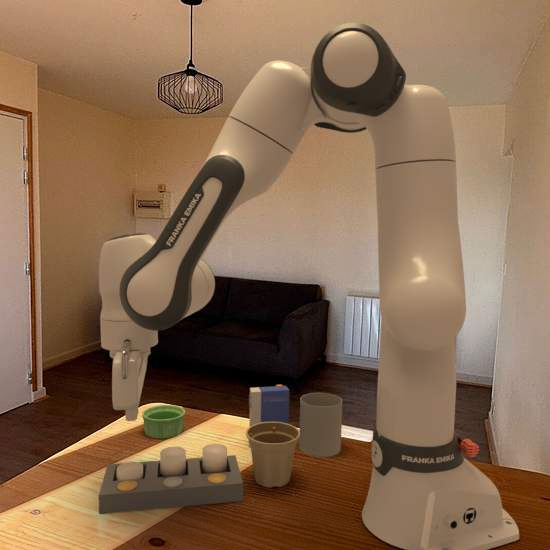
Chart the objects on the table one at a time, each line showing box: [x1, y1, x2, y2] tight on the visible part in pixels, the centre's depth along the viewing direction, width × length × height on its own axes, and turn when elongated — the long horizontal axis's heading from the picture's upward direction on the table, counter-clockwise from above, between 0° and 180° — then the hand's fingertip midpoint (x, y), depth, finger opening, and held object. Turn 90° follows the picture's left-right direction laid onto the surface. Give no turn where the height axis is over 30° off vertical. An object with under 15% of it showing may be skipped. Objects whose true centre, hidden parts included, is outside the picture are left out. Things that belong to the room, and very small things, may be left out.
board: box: [98, 454, 244, 515], centre depth 81 cm, size 22×10×3 cm, turn 102°
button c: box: [117, 461, 143, 481], centre depth 81 cm, size 4×4×3 cm
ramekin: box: [141, 404, 186, 440], centre depth 105 cm, size 9×9×4 cm
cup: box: [298, 392, 343, 458], centre depth 99 cm, size 8×8×10 cm
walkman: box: [248, 384, 290, 449], centre depth 100 cm, size 8×3×12 cm, turn 104°
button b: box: [159, 446, 187, 477], centre depth 83 cm, size 4×4×3 cm
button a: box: [201, 443, 228, 474], centre depth 84 cm, size 4×4×3 cm
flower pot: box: [245, 422, 300, 489], centre depth 86 cm, size 9×9×9 cm
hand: (132, 417), depth 80 cm, fingers closed
